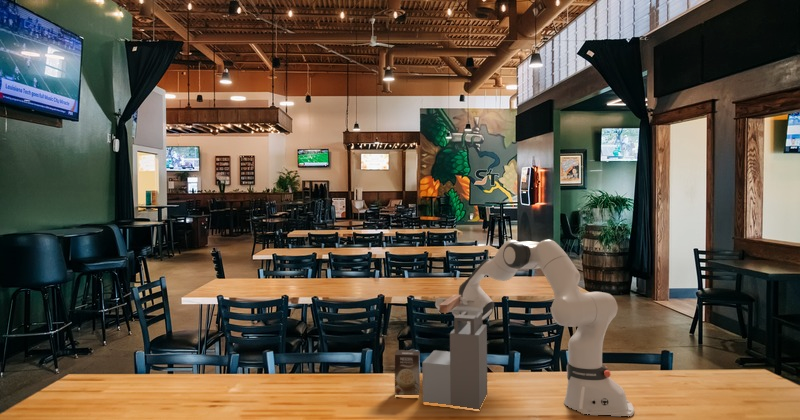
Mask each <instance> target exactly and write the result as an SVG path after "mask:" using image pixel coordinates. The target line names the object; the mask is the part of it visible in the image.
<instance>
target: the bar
mask: <svg viewBox="0 0 800 420" xmlns="http://www.w3.org/2000/svg"><path fill="white" fill-rule="evenodd" d="M449 297H450V298H449ZM449 297H448V298H446V299H447V300H446V301H444V302H443V303H441V304H440V310H439V314H440V313H441V314H448V313H450V312H449V311H451V310H452V309H453V308H455V307H456V306H457V305H458V304H460V302H459V298H460V297H461V295H459V294H453V295H452V296H449Z"/></svg>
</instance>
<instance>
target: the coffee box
mask: <svg viewBox="0 0 800 420" xmlns="http://www.w3.org/2000/svg"><path fill="white" fill-rule="evenodd" d="M420 359H421V357H420V350H407V349H406V350H405V349H396V350H395V351H394V396H395V395H419V396H420V394H419V390H420V389H421V388H420V387H421V386H420V384H421V383H420V382H421V381H420V378H421V377H420V370H421V367H420V365H421V364H420V363H421V360H420Z"/></svg>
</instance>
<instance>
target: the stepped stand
mask: <svg viewBox="0 0 800 420" xmlns="http://www.w3.org/2000/svg"><path fill="white" fill-rule="evenodd" d="M453 321H454V322H453V324H454V326H453V327H454V328H453V329H452V330H451V331H450V333H449V351H447V350H437V349H435V350H433V351H432V352H431V353H430V354H429V355H428V356H427V357H426V358H425V359H424V360H423V361H422V368H421V371H422V375H421V376H422V403H423V402H429V403H438V404H446V405H453V406H460V407H467V408H473V409H479V410H480V407H481V405H482V403H483V401H484V399H485V397H486V395H487V396H488V343H487V342H488V340H487V339H488V334H487V333H488V332H487V331H488V330H487V329H488V328H487V327H488V325H487V324H483V321H482V312H479V313H478V314H477V315H476V316H472V315H467V311H464V312H463V313H462V314H461V315H457V316H455V317H454V319H453ZM467 321H470V324H467ZM486 398H487V397H486ZM485 400H486V399H485ZM484 402H485V401H484ZM480 411H481V410H480Z"/></svg>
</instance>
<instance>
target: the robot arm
mask: <svg viewBox="0 0 800 420" xmlns="http://www.w3.org/2000/svg"><path fill="white" fill-rule="evenodd" d="M520 269H521V270H522V269H523V270H538V269H540V270H541V272H542V274H543V275H544V277H545V278H546V280H547V281H548V283H549V285H550V287H551V290H552V292H553V295H554V300H553V301H552V304H551V308H550V312H551V316H552V318H553V320H554V321H555V323H556V324H557V325H559V326H561V327H562V326H563V327H570V328H571V327H572V328H574V327H577V329H576V331H575V332H574V334H572V336H571V337H570V338H569V340H568V347H567V348H568V353H567V354H568V356H567V357H568V362H567V364H566V377H567V387H566V393H565V396H564V399H563V404H564V405H565V406H566V407H567V406H568V407H567V408H569V409H571V408H572V409H571V410H574V411H576V410H577V411H576V412H578V413H580V412H581V414H582V413H583V414H582V415H584V414H587V415H586V416H598V415H611V416H610V417H621V416H628V418H629V416H630V417H632V416H633V415H634V413H635V408H634V405H633V404H632V402H630V400H627V396H626V395H627V394H626V392H625V390H624V388H623V387H622V386H621V385H620V384H618V383H617V382H615V380H613V379H612V378H611V371H610V370H609V367H608V366H607V365H604V364H603V346H604V345H603V344H604V339H605V335H606V332H607V329H608V327H609V325H610V323H611V322H612V320H614V318H615V317H616V316H617V313H618V311H619V310H618V309H619V305H618V303H617V300H616V297H614V295H612V294H611V293H608V292H604V291H603V292H602V291H588V292H583V291H581V290H580V288H579V283H580V280H581V273H580V271H579V270H578V268H577V267H576V265H575V264H574V263H573V261H572V260H571V258H570V257H569V255H568V254H567V253H566V251H564V249H563V248H562V247H561V246H560V245H559V244H558V242H556V241H554V240H553V239H543V240H541V241H531V240H523V241H518V240H516V239H508V240H506V241H505V242H504V243H503V244H502V245H501V247H500V248H499V249H498V250H497V252H496V253H495V254H494V256H493V258H486V259H485V260H483V261H482V262H481V263H480V264H479V265H478V266H477V267H476V268H475V270H474V271H473V272H472V273H471V274H470V276H469V277H468V278H467V279H465V281H463V282H462V284H460V285H459V288H458V295H461V297H460V298H459V302H460V304H458V305H457V306H456V307H455V308H453V309H452V310H451V311H449V312H448V313H452V315H453V316H454V317H455V316H457V315H461V314H462V313H463V312H464V311H467V315H472V316H476V315H477V314H478V313H479V312H482V322H483V321H485V320H486V319H488V318H489V317H490V316H491V315H492V314H493V312H494V308H495V302H494V301H493V300H492V298H491V297H490V296H489V295H488V294H487V293H486V292H485V290H483V288H482V286H481V285H480V282H481V281H482V280H483V279H484V278H485V276H488V277H490V278H492V279H494V281H498V282H499V281H500V282H505V281H510V280H511V279H512V278H513V277H514V276H515V275H516V273H517V272H518V270H520ZM450 297H451V296H449V297H448V298H440V297H438V298H436V299H435V303H434V305H435V308H436V309H437V310H438V311H440V304H441V303H443V302H444V301H446V300H447V299H449V298H450ZM467 324H470V321H467ZM588 414H590V415H588Z"/></svg>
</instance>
